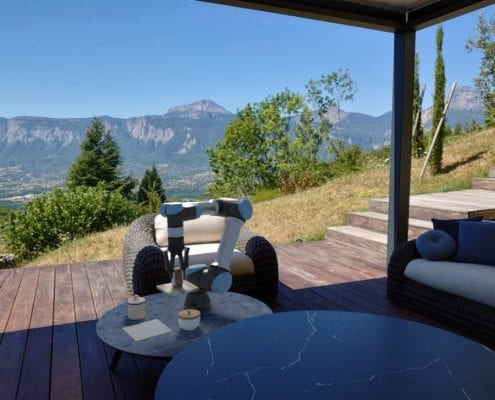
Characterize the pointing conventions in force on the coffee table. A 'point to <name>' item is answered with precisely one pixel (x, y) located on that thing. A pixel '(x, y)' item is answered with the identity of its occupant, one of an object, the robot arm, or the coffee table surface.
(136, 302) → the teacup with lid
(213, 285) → the robot arm
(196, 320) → the lidded jar
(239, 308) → the coffee table surface
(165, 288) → the board
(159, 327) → the mat
